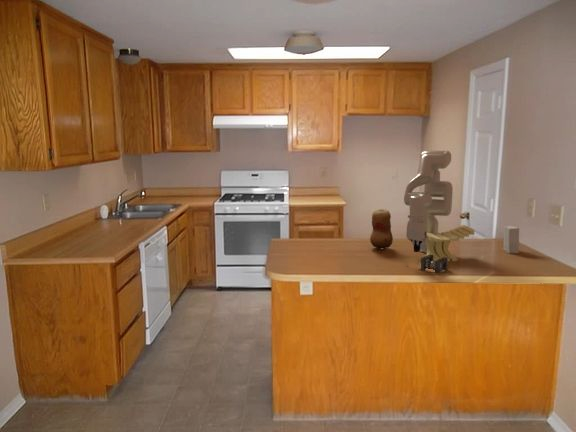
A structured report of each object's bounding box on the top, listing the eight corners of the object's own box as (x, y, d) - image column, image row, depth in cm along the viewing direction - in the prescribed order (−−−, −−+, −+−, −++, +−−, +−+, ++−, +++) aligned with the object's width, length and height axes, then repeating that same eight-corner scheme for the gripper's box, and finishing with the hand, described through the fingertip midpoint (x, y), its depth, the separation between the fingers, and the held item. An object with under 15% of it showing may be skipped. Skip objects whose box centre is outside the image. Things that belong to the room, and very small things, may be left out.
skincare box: (518, 253, 263) (520, 228, 260) (508, 253, 263) (509, 228, 260) (512, 249, 271) (514, 225, 268) (502, 249, 272) (503, 225, 269)
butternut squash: (368, 251, 281) (367, 211, 276) (372, 245, 293) (372, 207, 288) (390, 252, 276) (390, 212, 271) (394, 246, 288) (394, 208, 283)
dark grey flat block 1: (420, 269, 239) (420, 258, 238) (429, 265, 245) (429, 254, 244) (424, 270, 238) (424, 258, 237) (433, 266, 244) (433, 254, 243)
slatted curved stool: (460, 253, 268) (461, 223, 265) (473, 260, 253) (474, 229, 249) (410, 256, 266) (411, 226, 263) (420, 264, 251) (420, 232, 247)
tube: (421, 268, 241) (422, 260, 241) (426, 266, 244) (426, 258, 243) (439, 272, 234) (439, 264, 233) (443, 270, 237) (443, 262, 236)
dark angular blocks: (434, 272, 233) (434, 258, 232) (443, 268, 240) (443, 254, 238) (438, 273, 232) (438, 259, 231) (447, 269, 238) (447, 255, 237)
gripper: (400, 218, 244) (401, 250, 249) (425, 222, 234) (425, 256, 238) (408, 215, 249) (408, 247, 254) (433, 218, 239) (433, 252, 243)
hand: (416, 251), depth 246 cm, fingers closed
